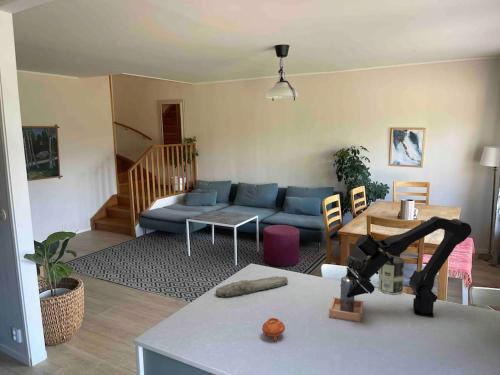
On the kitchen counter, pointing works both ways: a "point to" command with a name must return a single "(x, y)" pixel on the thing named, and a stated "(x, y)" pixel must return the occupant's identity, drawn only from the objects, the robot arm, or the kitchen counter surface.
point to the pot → (273, 328)
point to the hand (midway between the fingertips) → (343, 291)
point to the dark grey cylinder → (346, 286)
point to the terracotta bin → (343, 315)
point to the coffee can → (392, 277)
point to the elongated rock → (250, 286)
